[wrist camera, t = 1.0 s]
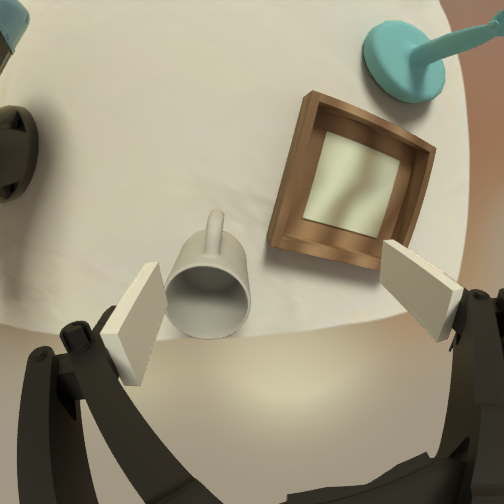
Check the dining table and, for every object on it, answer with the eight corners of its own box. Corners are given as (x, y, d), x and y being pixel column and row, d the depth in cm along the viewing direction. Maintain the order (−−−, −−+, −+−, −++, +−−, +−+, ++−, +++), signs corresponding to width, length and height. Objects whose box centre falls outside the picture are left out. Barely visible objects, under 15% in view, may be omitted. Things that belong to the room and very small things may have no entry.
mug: (241, 293, 37) (245, 344, 27) (179, 286, 36) (161, 335, 26) (254, 205, 33) (264, 229, 23) (184, 197, 32) (162, 218, 22)
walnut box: (266, 235, 34) (270, 246, 31) (303, 97, 29) (312, 90, 25) (383, 263, 37) (396, 274, 33) (419, 147, 31) (436, 148, 28)
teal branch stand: (360, 15, 24) (472, -67, 1) (429, 46, 25) (550, 14, 2) (359, 89, 28) (518, 41, 5) (430, 115, 30) (576, 120, 6)
